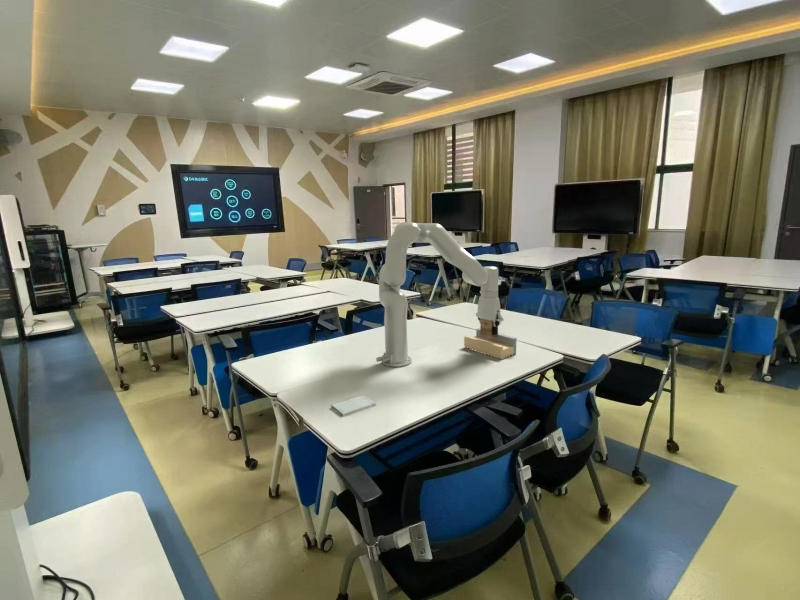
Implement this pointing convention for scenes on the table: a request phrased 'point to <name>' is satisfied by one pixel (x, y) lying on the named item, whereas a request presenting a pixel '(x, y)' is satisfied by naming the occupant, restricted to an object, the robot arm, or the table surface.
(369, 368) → the table surface
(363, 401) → the hard drive
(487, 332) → the cabinet block
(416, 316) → the table surface
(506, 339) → the cleat board
